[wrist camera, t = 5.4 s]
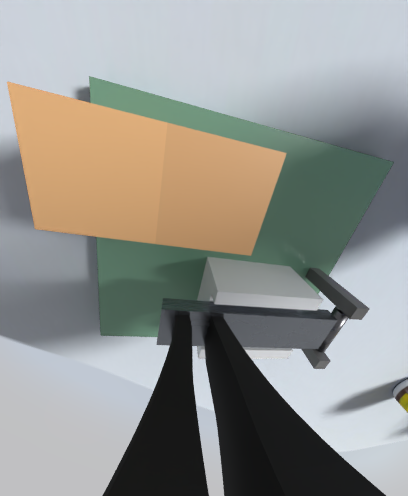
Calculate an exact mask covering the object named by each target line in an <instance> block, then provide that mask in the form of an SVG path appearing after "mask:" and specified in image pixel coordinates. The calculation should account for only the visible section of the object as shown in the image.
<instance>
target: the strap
mask: <svg viewBox="0 0 408 496" xmlns="http://www.w3.org/2000/svg"><path fill="white" fill-rule="evenodd" d="M177 315H189V316H190V320H191V325H192V346H205V345H204V343H205V339H206V335H207V331H208V327H209V323H210V319H211V316H220V317H223V318H224V319H225V321H226V322H227V324H228V325H229V327H230V329H231V330H232V332H233V333H234V335H235V336H236V338H237V339H238V341H239V342H240V344H241V345H242V347H258V348H296V349H315V350H316V351H318V352H320V353H324V352H325V350H326V349H327V348H328V346H329V345H330V343H331V342H332V341H333V339H334V338H335V336H336V335H337V334H338V332H339V331H340V329H341V328H342V326H343V325H344V324H345V322H346V321H347V319H348V317H347V316H346V315H345V314H344V313H343V312H342V311H341V310H340V309H339V308H338V307H337V306H336V307H335V308H334V310H333V311H332V313H330V312H329V311H328V310H319V309H318V310H317V311H314V310H299V309H283V308H267V307H251V306H236V305H220V304H214V302H211V301H198V300H184V299H171V298H163V301H162V308H161V316H160V323H159V330H158V338H157V345H170V344H171V341H172V335H173V328H174V322H175V317H176V316H177Z"/></svg>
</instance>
